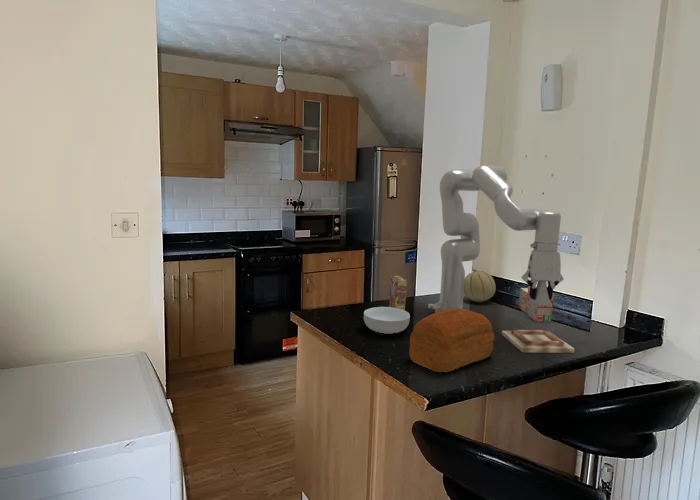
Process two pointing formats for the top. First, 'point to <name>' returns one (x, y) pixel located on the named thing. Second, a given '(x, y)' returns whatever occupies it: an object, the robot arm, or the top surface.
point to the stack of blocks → (534, 307)
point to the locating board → (537, 341)
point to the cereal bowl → (386, 319)
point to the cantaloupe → (479, 286)
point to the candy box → (398, 292)
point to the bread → (451, 339)
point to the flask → (541, 295)
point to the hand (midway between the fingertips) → (540, 298)
